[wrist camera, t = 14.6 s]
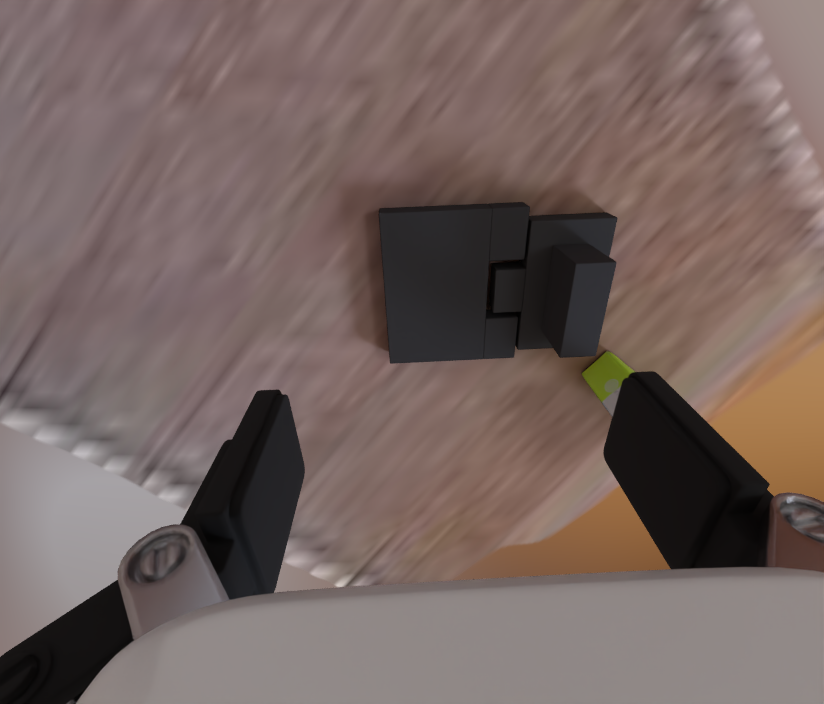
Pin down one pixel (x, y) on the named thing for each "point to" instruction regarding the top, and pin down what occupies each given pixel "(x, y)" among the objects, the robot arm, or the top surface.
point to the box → (607, 379)
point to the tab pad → (535, 266)
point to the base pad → (448, 279)
